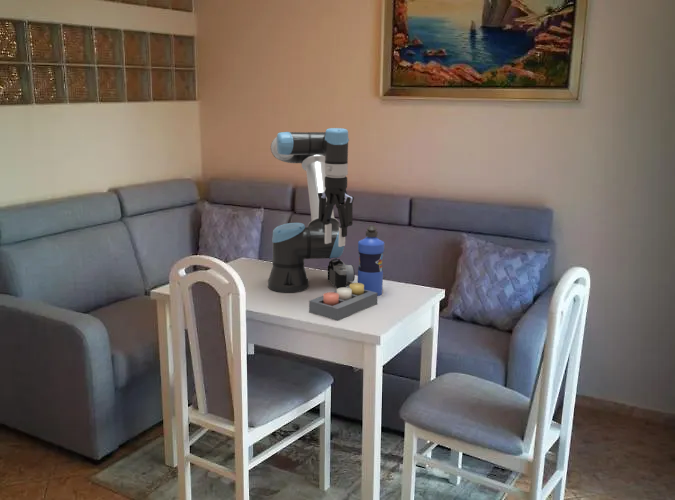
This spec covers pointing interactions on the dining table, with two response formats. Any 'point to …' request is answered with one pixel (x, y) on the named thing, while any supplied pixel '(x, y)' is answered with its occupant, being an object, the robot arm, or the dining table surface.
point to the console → (343, 305)
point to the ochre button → (357, 288)
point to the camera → (340, 273)
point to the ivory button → (344, 293)
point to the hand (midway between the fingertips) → (334, 244)
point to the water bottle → (371, 261)
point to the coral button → (331, 298)
